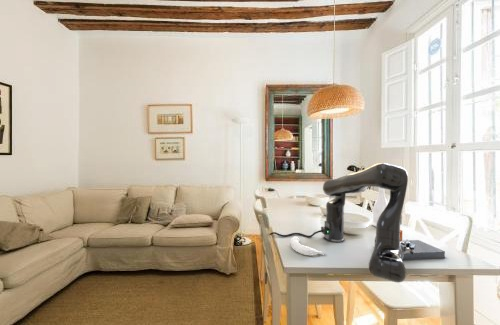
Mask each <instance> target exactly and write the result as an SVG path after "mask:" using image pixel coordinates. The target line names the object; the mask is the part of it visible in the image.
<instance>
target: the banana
mask: <svg viewBox="0 0 500 325" xmlns="http://www.w3.org/2000/svg"><path fill="white" fill-rule="evenodd" d="M300 241H301V239H300V238H299V236H293V237H292V238H291V239H290V246H291V248H292V249H293V250H294V251H295V252H297V253H299V254H300V255H303V256H314V255H316V254H318V255H322V256H324V255H325V253H324V252H323V251H321V250H317V249H315V248H313V247H310V246H308V245H304V244H302V243H300Z"/></svg>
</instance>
